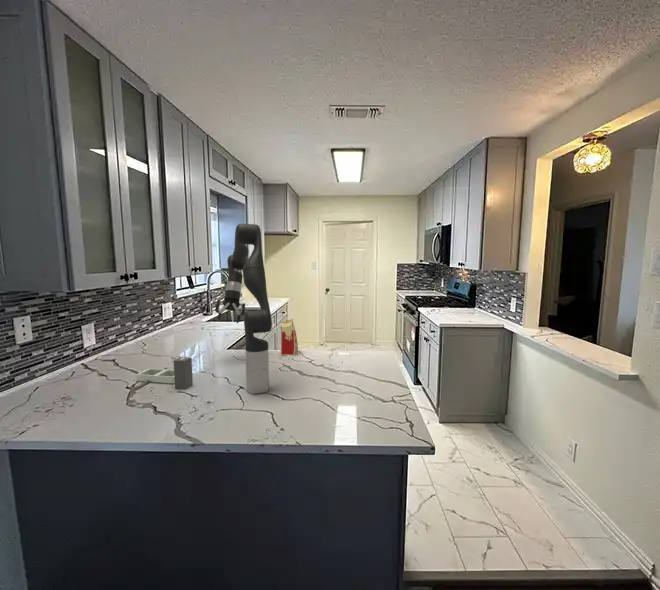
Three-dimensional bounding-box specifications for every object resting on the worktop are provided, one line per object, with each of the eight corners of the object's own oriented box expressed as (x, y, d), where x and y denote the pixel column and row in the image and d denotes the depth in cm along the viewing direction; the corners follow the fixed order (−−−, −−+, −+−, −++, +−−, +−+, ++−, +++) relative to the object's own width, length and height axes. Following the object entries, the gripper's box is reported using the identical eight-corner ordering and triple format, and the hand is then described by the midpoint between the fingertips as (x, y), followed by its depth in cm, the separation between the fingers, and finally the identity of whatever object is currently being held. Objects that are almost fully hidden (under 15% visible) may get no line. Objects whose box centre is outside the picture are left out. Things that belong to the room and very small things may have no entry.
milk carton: (298, 351, 196) (297, 317, 193) (294, 356, 187) (294, 320, 184) (282, 351, 197) (282, 317, 194) (278, 355, 188) (278, 320, 185)
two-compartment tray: (160, 392, 137) (159, 385, 137) (120, 389, 140) (120, 382, 140) (184, 377, 154) (184, 370, 153) (149, 375, 157) (148, 368, 156)
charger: (185, 389, 141) (184, 360, 139) (175, 388, 142) (173, 360, 140) (192, 384, 146) (191, 357, 144) (182, 383, 146) (180, 356, 145)
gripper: (218, 287, 170) (213, 318, 165) (247, 291, 173) (243, 322, 168) (219, 291, 177) (214, 322, 172) (247, 295, 180) (242, 325, 175)
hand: (228, 322), depth 170 cm, fingers open, 8 cm apart
